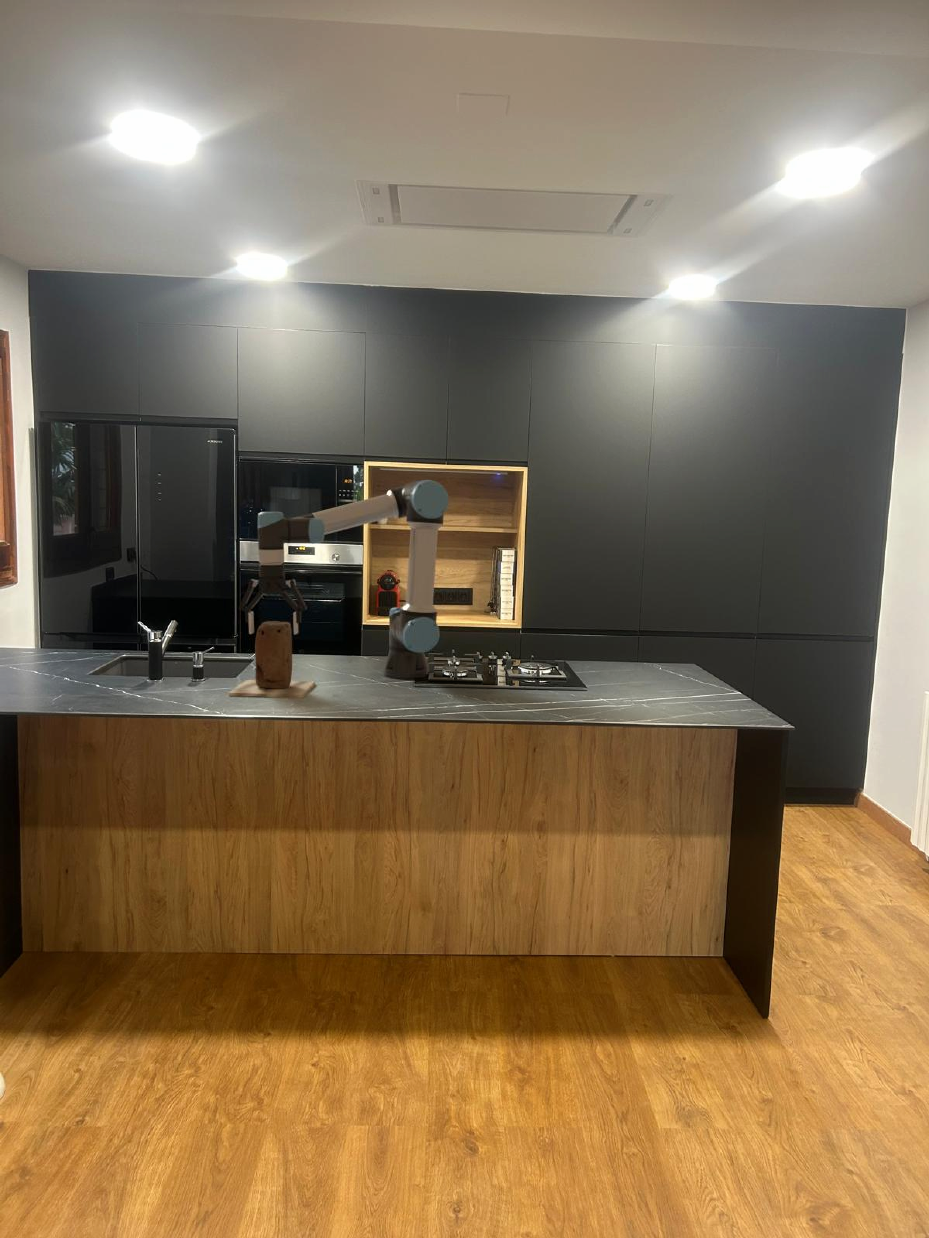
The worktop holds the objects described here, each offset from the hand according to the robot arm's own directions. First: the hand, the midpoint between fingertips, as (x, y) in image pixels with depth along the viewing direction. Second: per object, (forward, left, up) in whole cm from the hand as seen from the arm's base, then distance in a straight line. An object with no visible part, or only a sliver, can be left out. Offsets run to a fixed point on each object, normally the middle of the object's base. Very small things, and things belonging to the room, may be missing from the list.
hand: (273, 633), depth 255 cm
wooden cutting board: (0, 0, -18) cm, 18 cm away
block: (0, 0, -17) cm, 17 cm away
